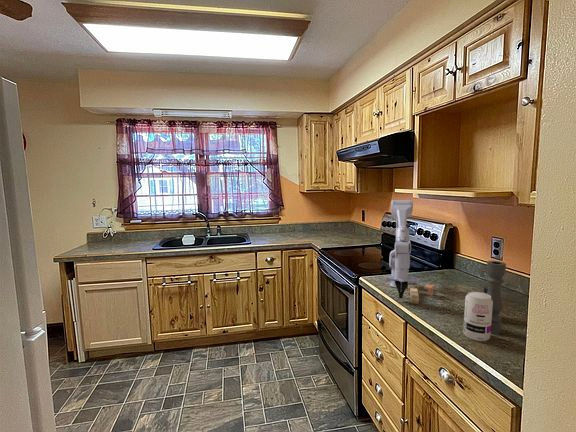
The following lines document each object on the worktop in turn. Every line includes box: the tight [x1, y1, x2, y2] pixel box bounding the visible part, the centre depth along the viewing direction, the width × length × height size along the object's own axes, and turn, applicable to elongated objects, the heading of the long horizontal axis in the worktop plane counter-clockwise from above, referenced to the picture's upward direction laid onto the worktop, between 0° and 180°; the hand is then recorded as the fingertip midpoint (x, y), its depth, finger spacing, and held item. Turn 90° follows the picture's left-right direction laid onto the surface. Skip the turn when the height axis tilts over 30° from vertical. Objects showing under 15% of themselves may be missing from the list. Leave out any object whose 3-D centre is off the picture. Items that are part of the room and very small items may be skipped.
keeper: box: [423, 283, 435, 296], centre depth 151 cm, size 3×6×5 cm, turn 142°
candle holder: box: [486, 260, 507, 335], centre depth 116 cm, size 6×6×25 cm
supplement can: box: [462, 291, 493, 342], centre depth 112 cm, size 8×8×15 cm
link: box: [407, 284, 420, 305], centre depth 149 cm, size 16×5×3 cm, turn 162°
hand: (400, 297), depth 145 cm, fingers closed
